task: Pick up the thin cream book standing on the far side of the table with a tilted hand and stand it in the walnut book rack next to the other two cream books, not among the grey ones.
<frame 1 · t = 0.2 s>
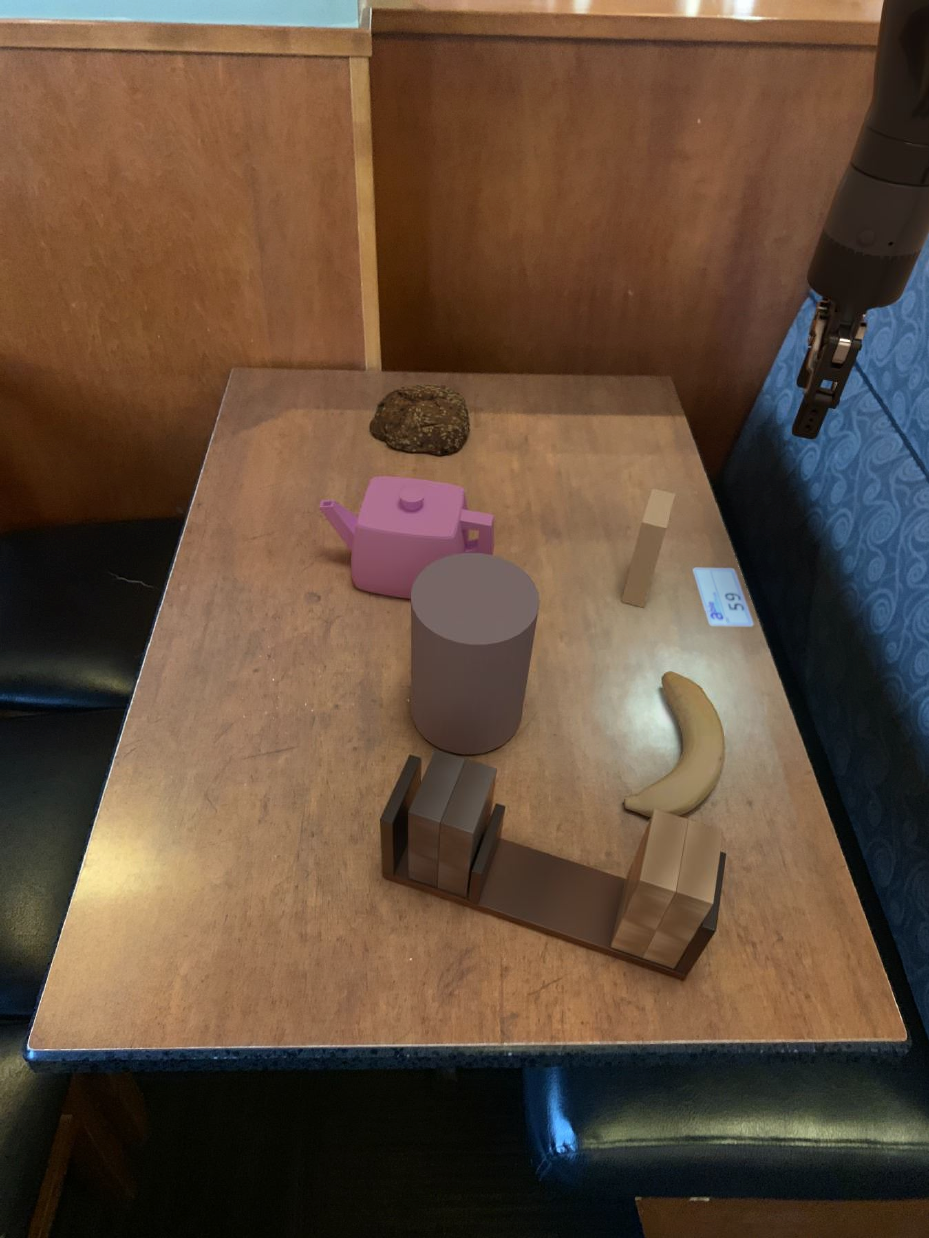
hand: (805, 410, 78), 21 cm above the table, tool pointing down, fingers open, 8 cm apart
cream book: (637, 587, 91), on the table
grey upright cylinder: (466, 711, 79), on the table
teapot: (408, 568, 91), on the table
bread roll: (420, 428, 109), on the table
fruit: (669, 751, 77), on the table
book rack: (538, 892, 67), on the table
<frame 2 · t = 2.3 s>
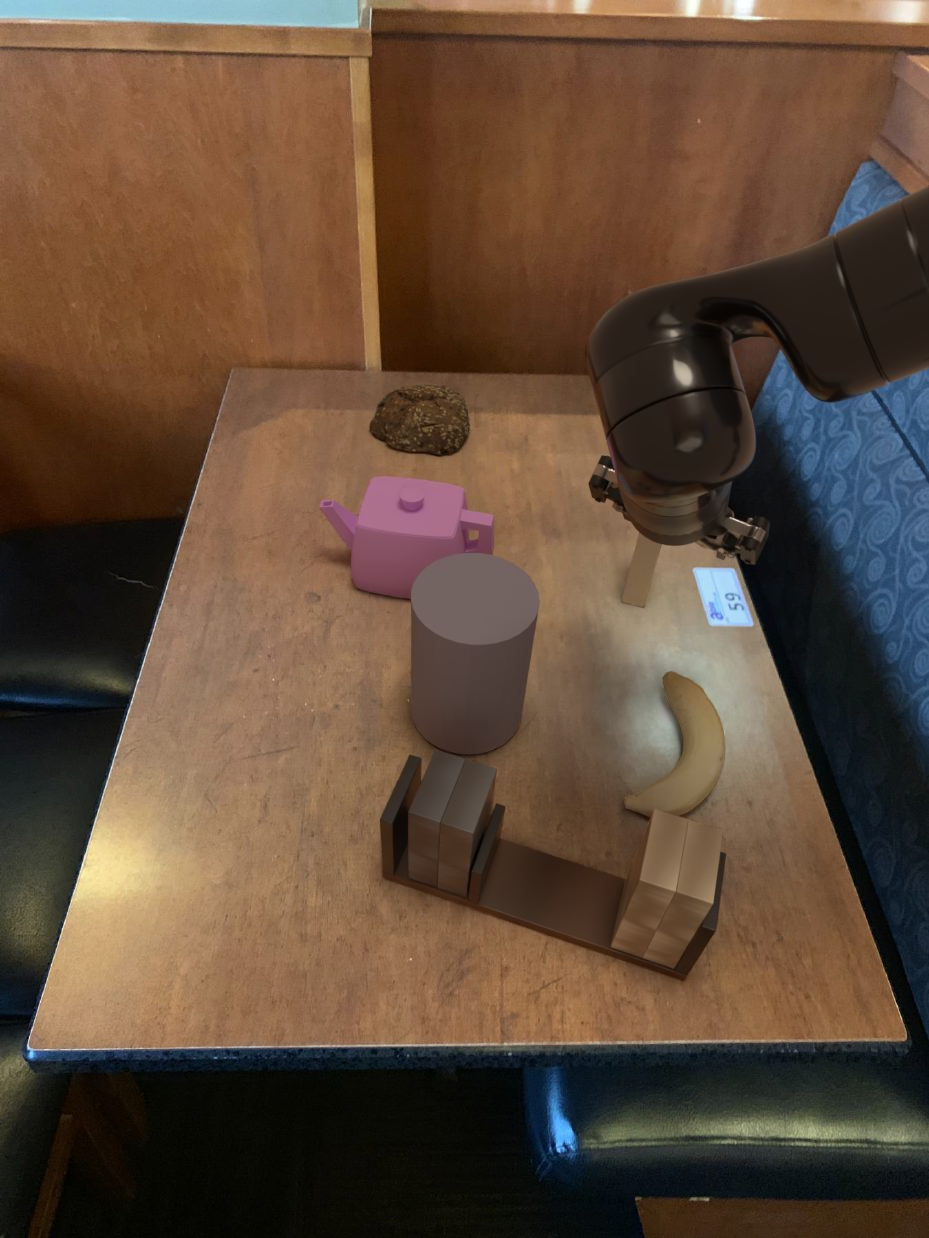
hand: (678, 528, 74), 15 cm above the table, tool tilted 40°, fingers open, 8 cm apart
nothing on the table moved.
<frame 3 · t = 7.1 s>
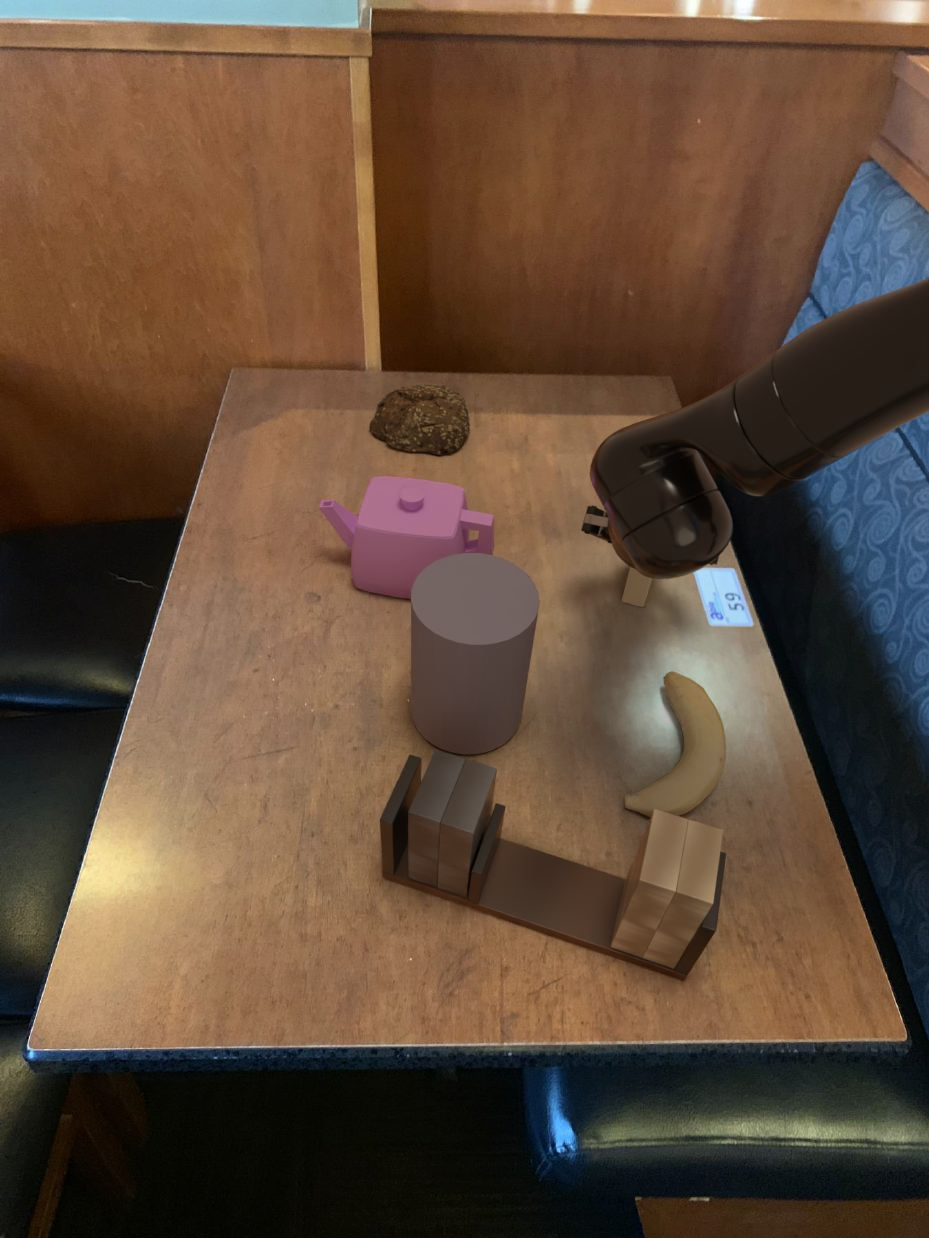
hand: (649, 543, 89), 5 cm above the table, tool tilted 45°, fingers closed on cream book, 2 cm apart
cream book: (637, 587, 91), on the table, touching gripper
everything else where it was.
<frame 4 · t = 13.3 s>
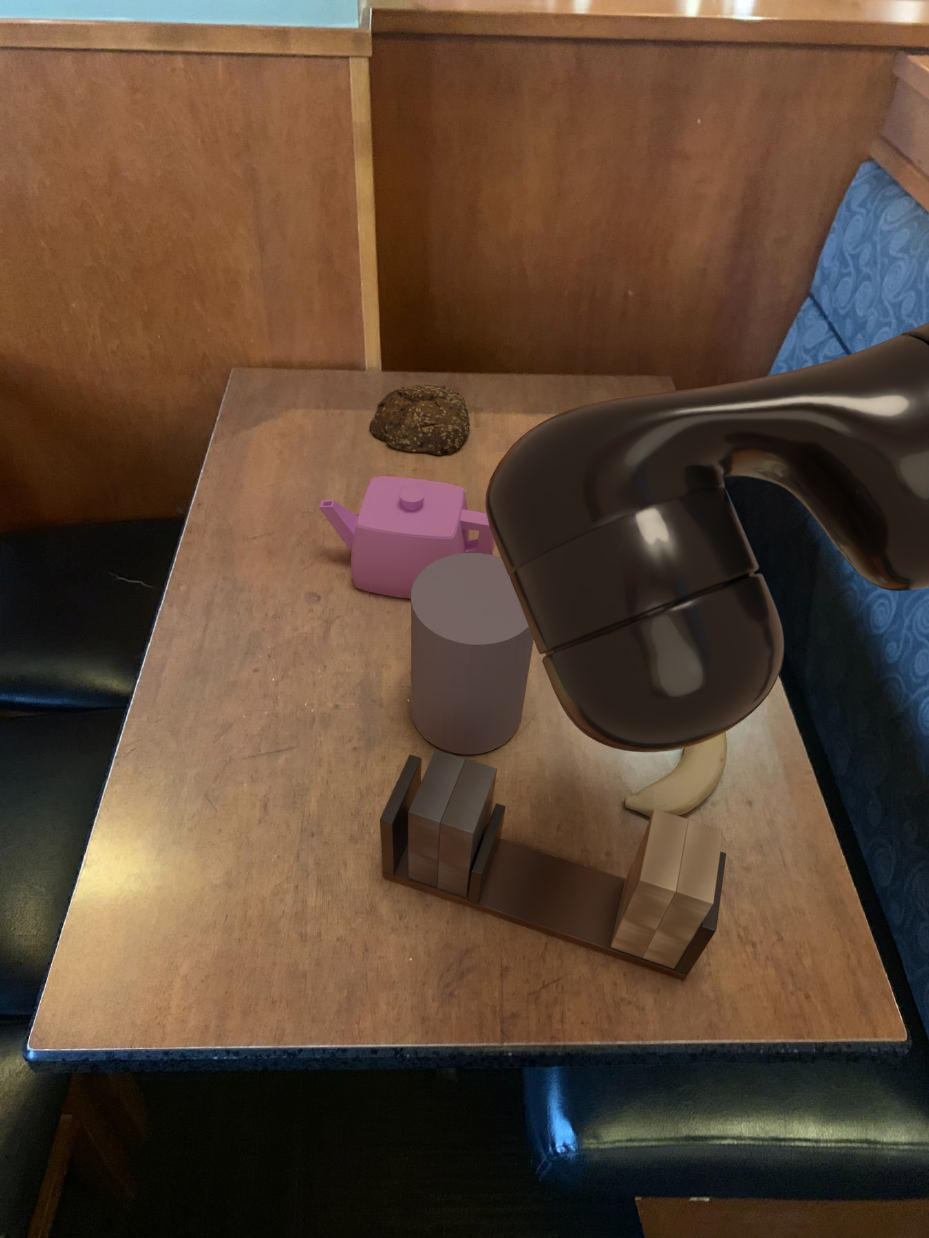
hand: (631, 602, 59), 21 cm above the table, tool tilted 45°, fingers closed on cream book, 2 cm apart
cream book: (613, 665, 61), point 17 cm above the table, touching gripper
everything else where it was.
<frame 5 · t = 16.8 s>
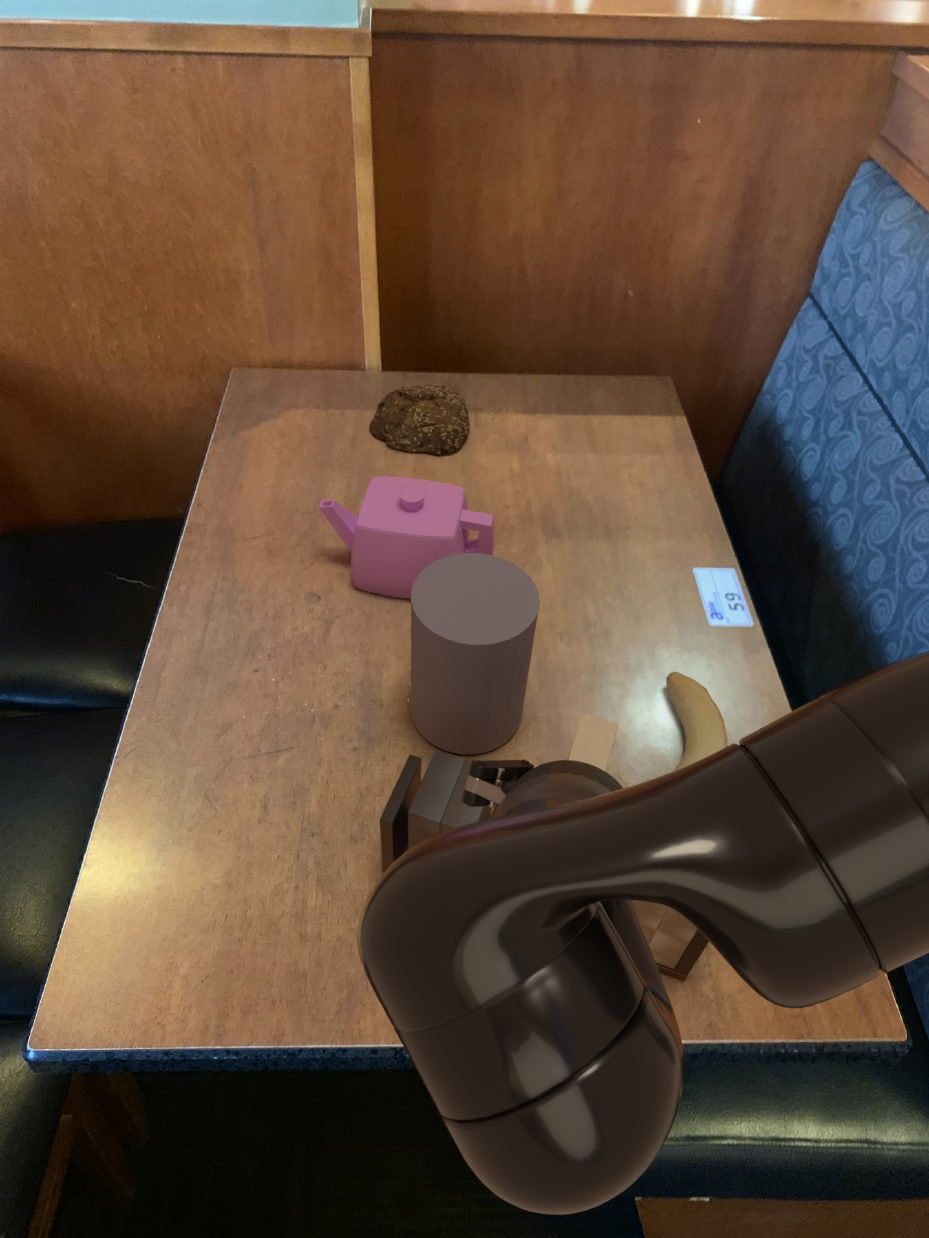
hand: (581, 784, 58), 13 cm above the table, tool tilted 45°, fingers closed on cream book, 2 cm apart
cream book: (565, 843, 60), point 9 cm above the table, touching gripper
everything else where it was.
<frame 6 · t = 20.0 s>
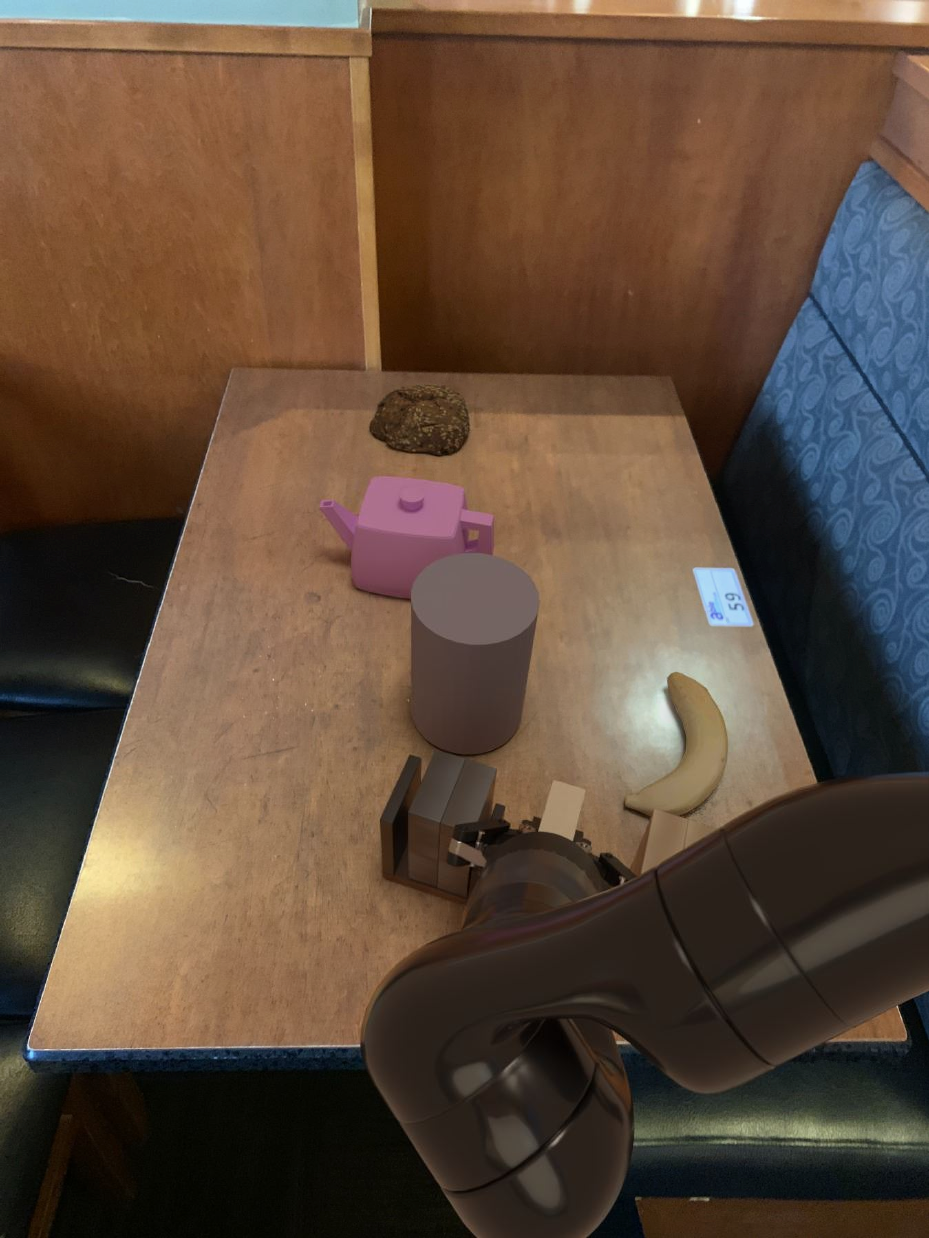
hand: (554, 836, 64), 6 cm above the table, tool tilted 45°, fingers closed on cream book, 2 cm apart
cream book: (540, 889, 66), point 1 cm above the table, touching book rack, gripper
everything else where it was.
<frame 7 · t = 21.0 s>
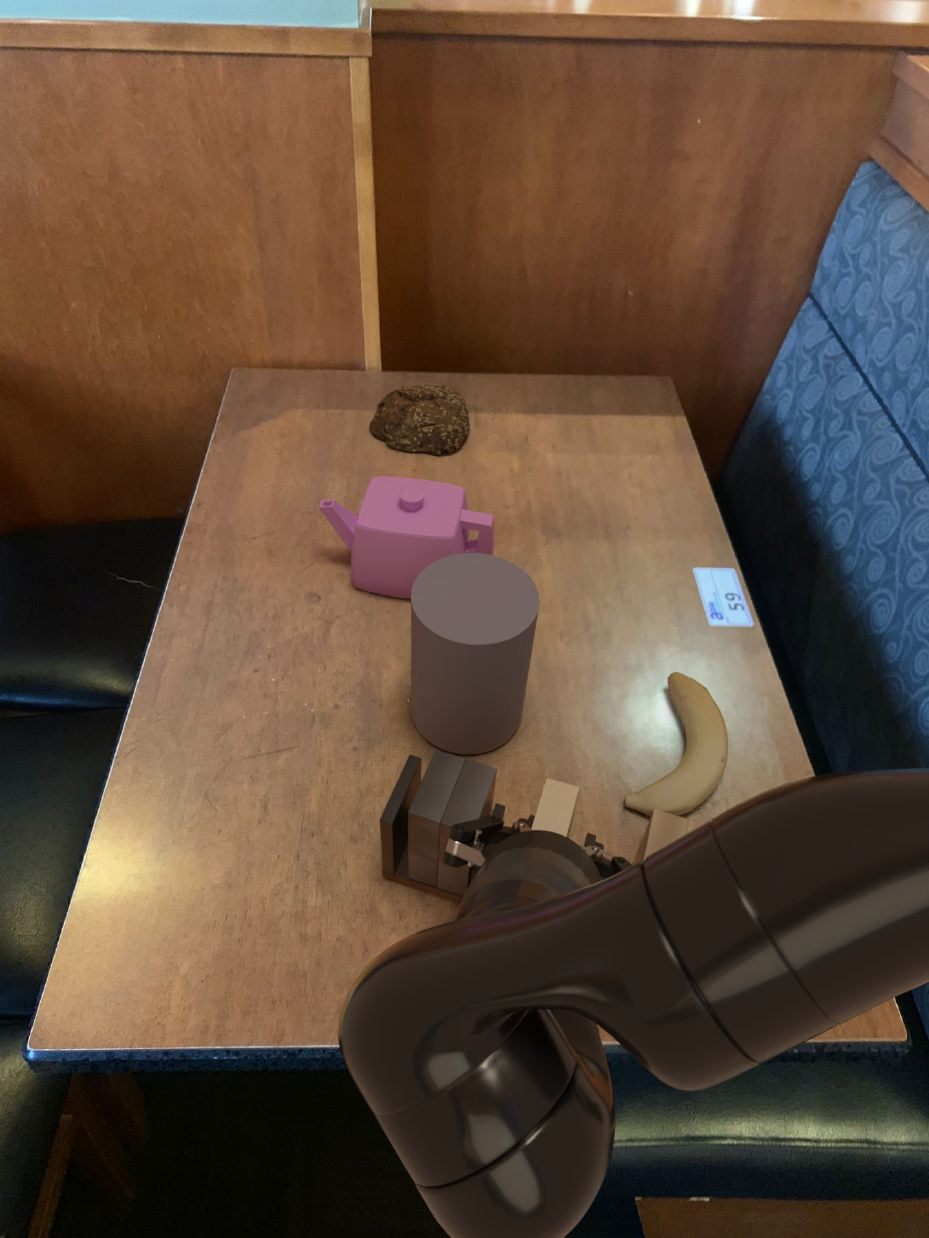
hand: (559, 837, 63), 6 cm above the table, tool tilted 45°, fingers open, 3 cm apart
nothing on the table moved.
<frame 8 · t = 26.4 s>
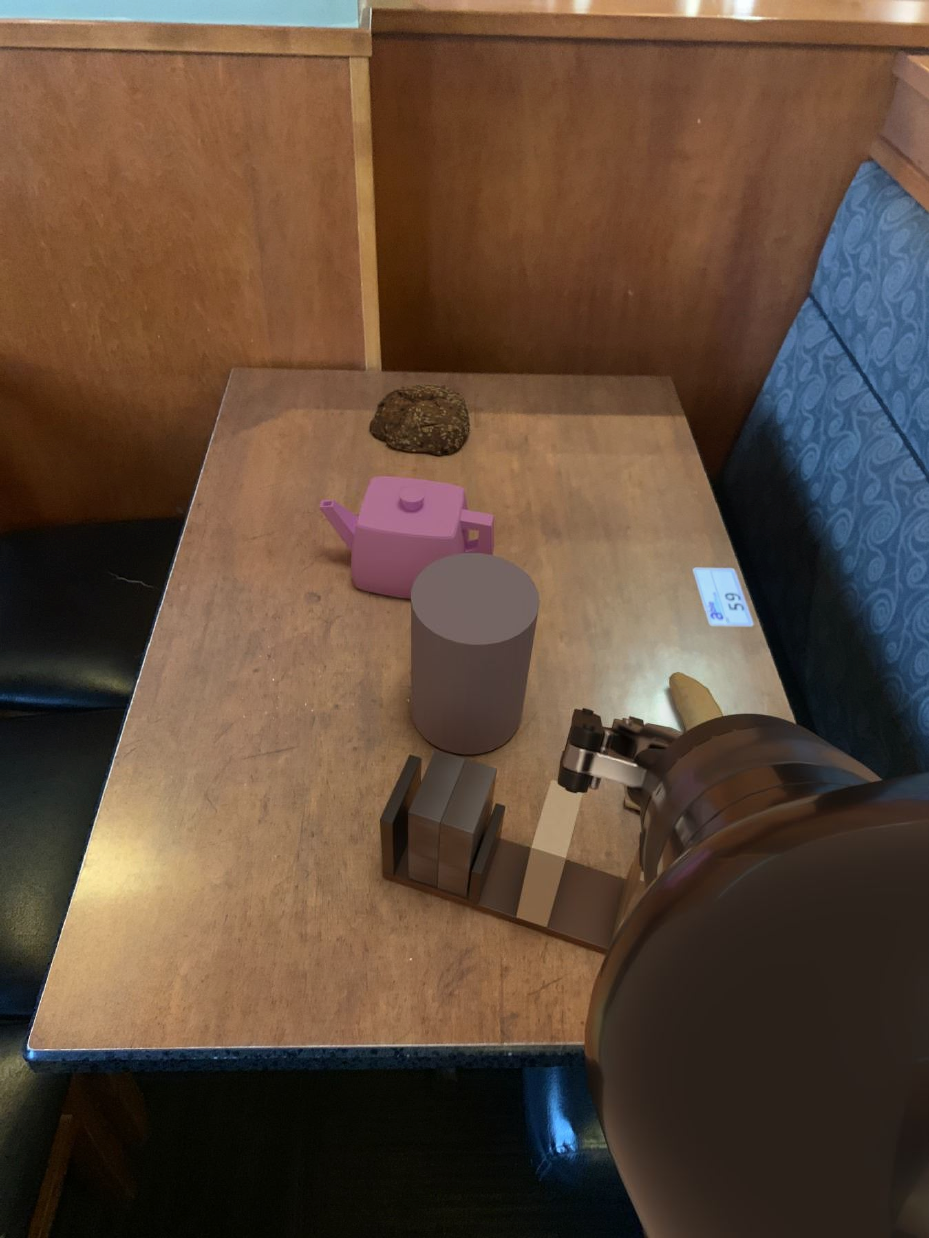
hand: (715, 762, 41), 29 cm above the table, tool tilted 45°, fingers open, 8 cm apart
cream book: (540, 889, 66), point 1 cm above the table, touching book rack
everything else where it was.
at the end: cream book 0.8 cm off-centre on the book rack, point 1.0 cm above the book rack's base; cream book tilted 0°; the gripper is holding nothing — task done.
